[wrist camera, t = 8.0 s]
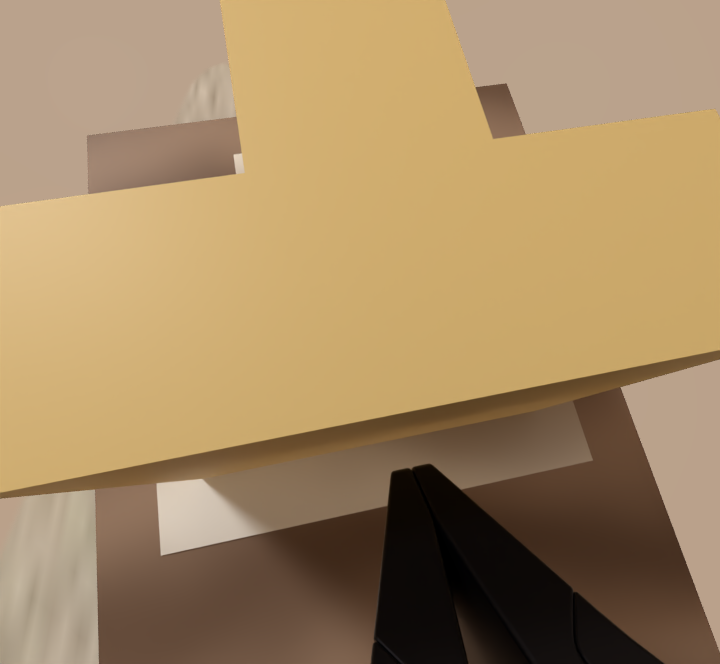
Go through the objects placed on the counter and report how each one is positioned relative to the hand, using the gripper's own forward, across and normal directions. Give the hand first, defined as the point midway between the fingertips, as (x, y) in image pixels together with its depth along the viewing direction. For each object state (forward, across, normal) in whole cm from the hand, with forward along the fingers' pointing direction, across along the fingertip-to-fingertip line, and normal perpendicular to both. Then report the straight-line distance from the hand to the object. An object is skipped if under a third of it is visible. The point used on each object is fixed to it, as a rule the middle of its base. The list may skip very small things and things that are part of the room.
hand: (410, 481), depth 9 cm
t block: (+10, 0, 0) cm, 10 cm away
